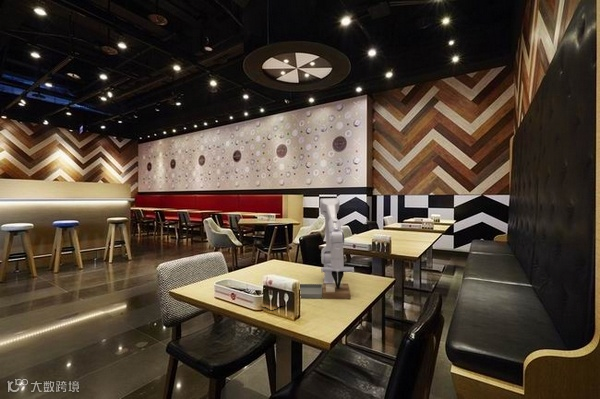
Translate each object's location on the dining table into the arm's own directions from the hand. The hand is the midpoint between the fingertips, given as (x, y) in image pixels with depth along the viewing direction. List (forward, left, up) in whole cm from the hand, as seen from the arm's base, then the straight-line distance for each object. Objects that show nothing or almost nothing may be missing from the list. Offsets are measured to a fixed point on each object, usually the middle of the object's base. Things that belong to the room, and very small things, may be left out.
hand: (337, 288), depth 119 cm
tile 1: (0, -3, -1) cm, 4 cm away
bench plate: (-3, -1, -3) cm, 5 cm away
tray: (-3, -13, -3) cm, 14 cm away
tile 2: (-6, 0, -1) cm, 6 cm away
